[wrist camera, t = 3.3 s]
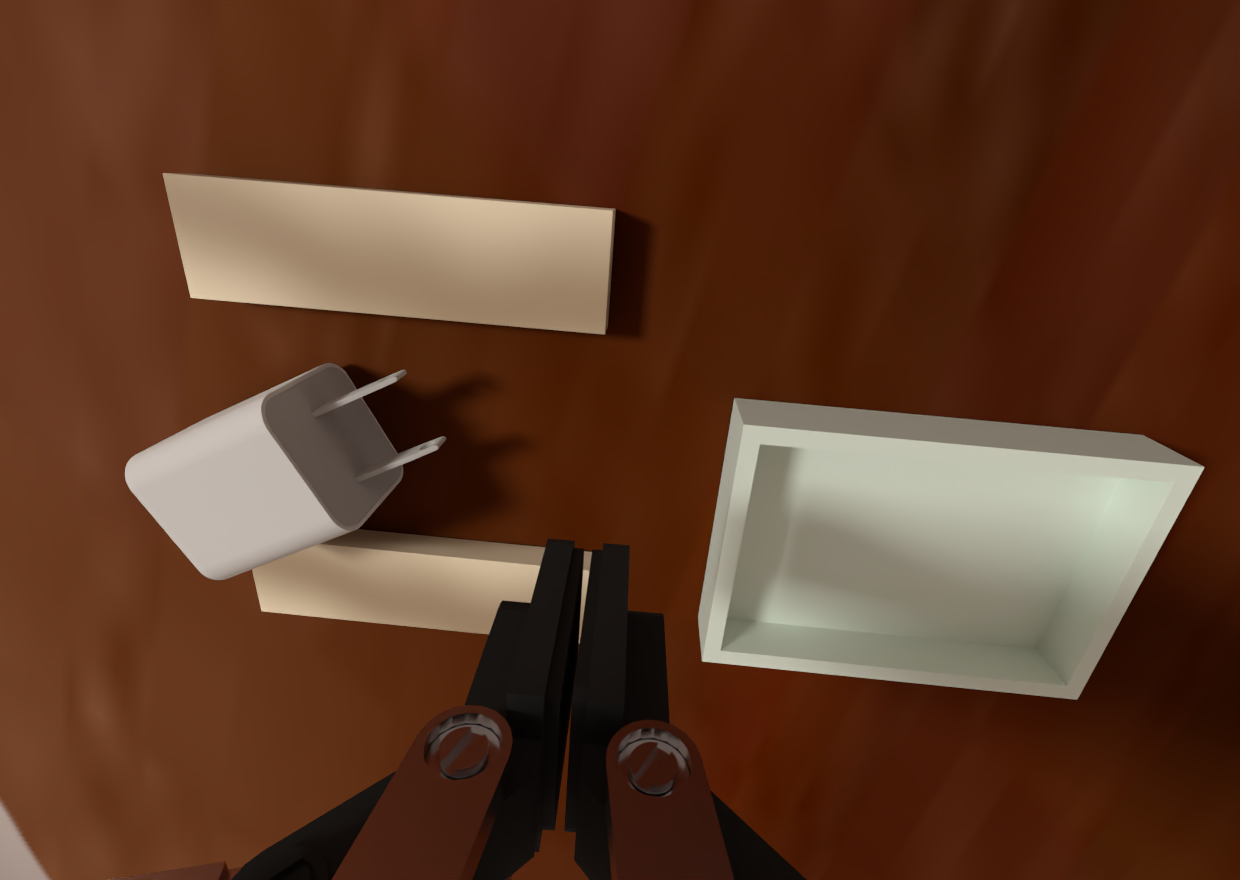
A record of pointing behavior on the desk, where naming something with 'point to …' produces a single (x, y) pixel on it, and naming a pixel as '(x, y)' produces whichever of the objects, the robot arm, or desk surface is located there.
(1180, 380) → the desk surface
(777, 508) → the tray
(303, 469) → the usb wall charger
